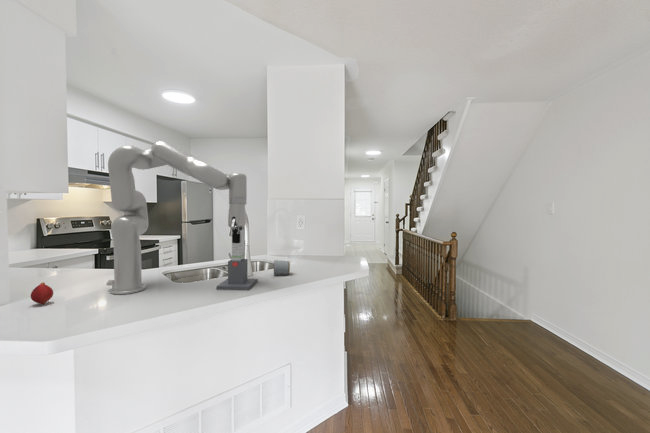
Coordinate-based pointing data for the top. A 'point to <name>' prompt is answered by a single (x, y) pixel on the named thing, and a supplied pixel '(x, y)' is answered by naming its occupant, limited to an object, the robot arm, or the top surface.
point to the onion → (42, 293)
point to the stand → (237, 277)
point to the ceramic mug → (281, 267)
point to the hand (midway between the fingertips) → (237, 241)
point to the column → (238, 248)
